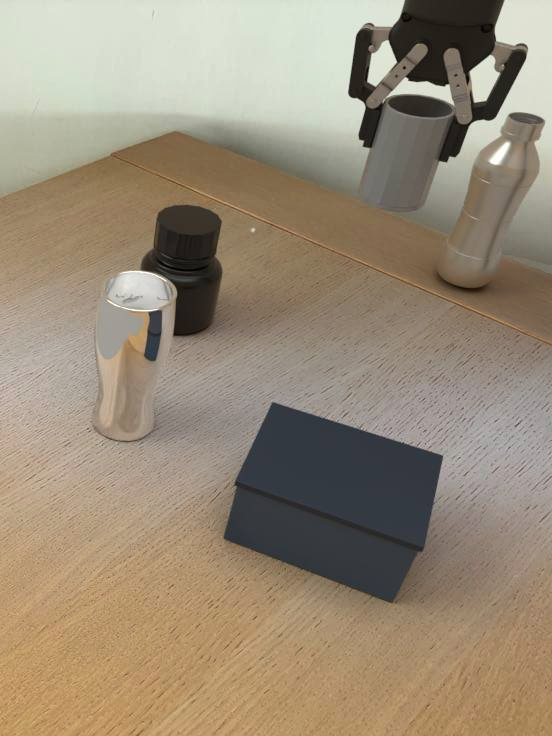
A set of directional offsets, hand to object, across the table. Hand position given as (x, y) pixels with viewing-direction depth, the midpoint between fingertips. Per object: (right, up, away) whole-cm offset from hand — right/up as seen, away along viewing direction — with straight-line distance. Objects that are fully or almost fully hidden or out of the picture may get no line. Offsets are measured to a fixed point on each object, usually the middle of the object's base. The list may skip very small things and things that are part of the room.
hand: (405, 151), depth 78 cm
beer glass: (-26, -26, +3) cm, 37 cm away
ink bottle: (-18, -14, +17) cm, 29 cm away
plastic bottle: (+18, -9, +23) cm, 30 cm away
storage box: (-11, -34, -8) cm, 37 cm away
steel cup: (0, -4, +3) cm, 5 cm away
